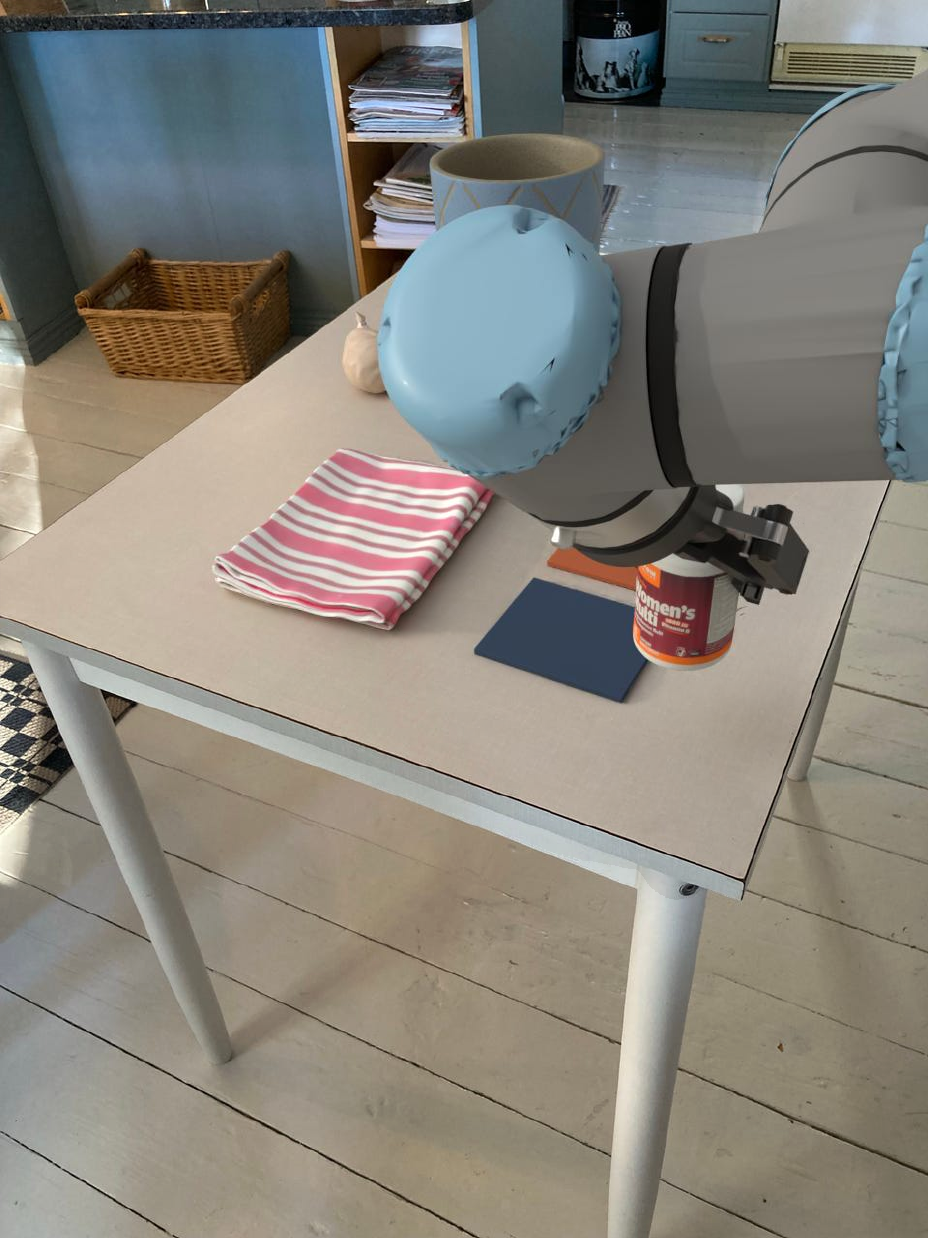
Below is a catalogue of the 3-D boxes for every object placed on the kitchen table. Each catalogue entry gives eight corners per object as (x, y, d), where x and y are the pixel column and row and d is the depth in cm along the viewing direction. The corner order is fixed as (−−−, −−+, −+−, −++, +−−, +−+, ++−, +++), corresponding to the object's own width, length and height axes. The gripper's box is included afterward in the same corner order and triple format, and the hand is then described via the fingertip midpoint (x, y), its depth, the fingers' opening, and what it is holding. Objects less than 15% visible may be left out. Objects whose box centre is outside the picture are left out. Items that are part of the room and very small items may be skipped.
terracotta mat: (728, 533, 86) (729, 528, 85) (683, 604, 79) (684, 599, 78) (600, 501, 91) (600, 496, 90) (546, 565, 84) (547, 560, 83)
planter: (417, 321, 125) (402, 151, 112) (551, 290, 130) (551, 124, 118) (483, 379, 111) (475, 193, 98) (630, 341, 117) (639, 160, 104)
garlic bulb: (407, 375, 113) (400, 307, 108) (399, 401, 108) (391, 331, 103) (350, 375, 114) (341, 307, 109) (339, 401, 109) (329, 332, 104)
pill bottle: (614, 649, 63) (620, 497, 56) (665, 600, 66) (677, 451, 59) (700, 689, 60) (719, 532, 53) (749, 635, 63) (773, 481, 56)
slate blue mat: (672, 622, 77) (672, 617, 77) (621, 703, 70) (621, 698, 70) (533, 581, 82) (533, 576, 82) (473, 653, 75) (473, 648, 75)
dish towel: (210, 595, 83) (200, 562, 81) (347, 460, 99) (342, 428, 97) (391, 643, 77) (386, 608, 75) (505, 490, 93) (504, 457, 91)
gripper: (396, 499, 46) (552, 586, 67) (812, 609, 38) (842, 669, 59) (445, 346, 46) (586, 480, 67) (871, 424, 38) (880, 549, 59)
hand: (705, 568), depth 63 cm, fingers closed on pill bottle, 6 cm apart
